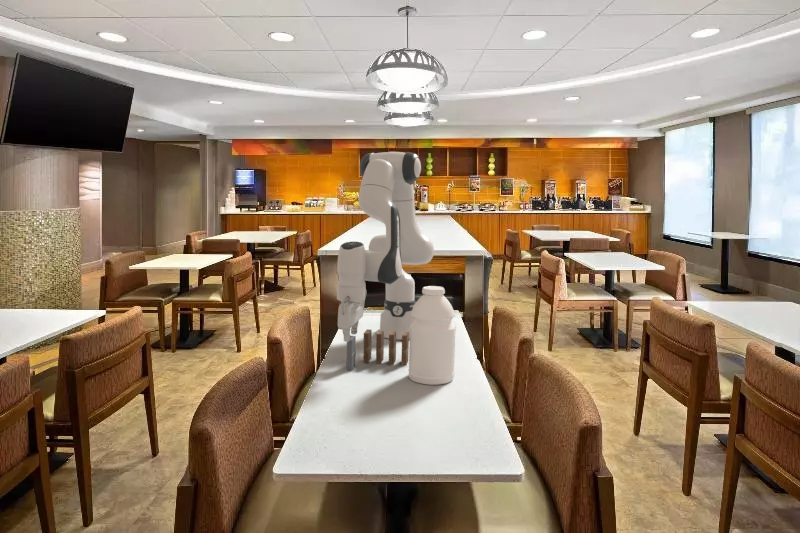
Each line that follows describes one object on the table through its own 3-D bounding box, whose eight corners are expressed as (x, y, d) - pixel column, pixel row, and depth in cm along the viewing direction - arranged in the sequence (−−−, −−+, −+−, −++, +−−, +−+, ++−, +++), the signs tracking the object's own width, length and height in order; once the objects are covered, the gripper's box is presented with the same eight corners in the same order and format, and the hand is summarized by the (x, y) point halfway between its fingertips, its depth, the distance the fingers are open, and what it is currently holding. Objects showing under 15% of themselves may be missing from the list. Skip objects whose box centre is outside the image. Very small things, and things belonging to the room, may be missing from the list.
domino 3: (388, 364, 191) (388, 334, 190) (391, 359, 196) (391, 330, 195) (393, 364, 191) (393, 334, 189) (395, 360, 196) (396, 331, 194)
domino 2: (375, 363, 192) (376, 333, 190) (378, 359, 197) (379, 330, 195) (380, 363, 191) (381, 334, 190) (383, 359, 196) (383, 330, 195)
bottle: (413, 386, 171) (415, 292, 167) (404, 371, 184) (405, 284, 180) (459, 384, 173) (463, 291, 169) (447, 369, 187) (449, 283, 183)
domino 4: (401, 365, 190) (401, 335, 189) (403, 360, 195) (404, 331, 194) (406, 365, 190) (406, 335, 189) (408, 360, 195) (409, 331, 194)
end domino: (346, 370, 184) (346, 339, 183) (350, 365, 189) (350, 335, 187) (351, 371, 184) (352, 340, 182) (355, 366, 189) (355, 336, 187)
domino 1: (363, 362, 192) (363, 333, 191) (366, 358, 197) (366, 329, 196) (368, 363, 192) (368, 333, 191) (371, 358, 197) (371, 329, 196)
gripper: (353, 300, 172) (352, 346, 174) (367, 289, 192) (367, 330, 194) (332, 299, 173) (332, 345, 175) (349, 288, 193) (348, 329, 195)
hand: (350, 337), depth 184 cm, fingers open, 8 cm apart
